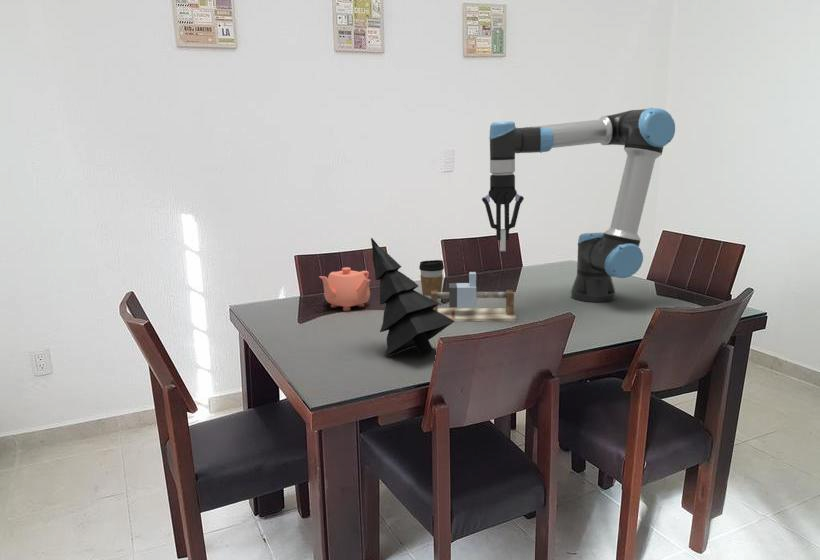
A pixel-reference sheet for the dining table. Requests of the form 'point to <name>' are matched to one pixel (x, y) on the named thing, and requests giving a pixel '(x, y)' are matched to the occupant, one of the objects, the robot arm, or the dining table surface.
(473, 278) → the blue-grey block with post
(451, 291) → the collar
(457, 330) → the dining table surface
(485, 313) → the pipe rig
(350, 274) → the teapot
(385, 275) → the decorative tree
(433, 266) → the coffee cup
